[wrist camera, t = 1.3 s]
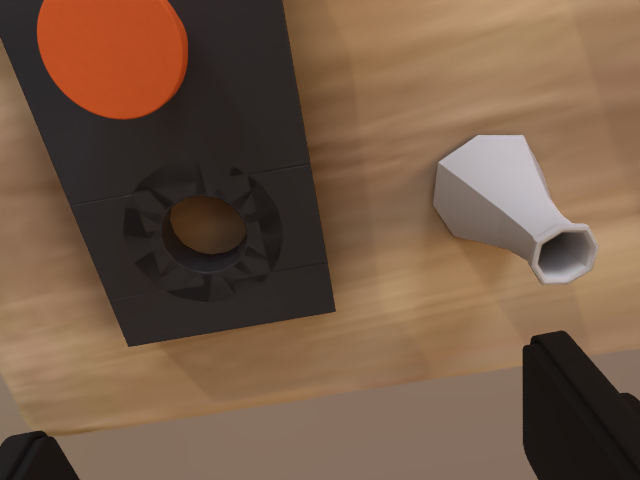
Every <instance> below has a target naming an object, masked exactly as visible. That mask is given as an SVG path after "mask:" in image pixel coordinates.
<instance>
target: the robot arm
mask: <svg viewBox="0 0 640 480" xmlns="http://www.w3.org/2000/svg"><path fill="white" fill-rule="evenodd" d="M523 445H524V450H525V454H526V456H527V459H528V461H529V463H530V465H531V467H532V469H533V471H534V472H535V474H536V476H537V478H538V480H640V401H639V400H638V399H637V398H636V397H634V396H633V395H631V394H629V393H619V392H618V391H617V390H616V389H615V387H614V386H613V385H612V384H611V383H610V382H609V380H608V379H607V378H606V377H605V376H604V375H603V374H602V372H601V371H600V370H599V369H598V368H597V367H596V366H595V364H594V363H593V362H592V361H591V360H590V359H589V357H588V356H587V355H586V354H585V353H584V352H583V351H582V349H581V348H580V347H579V346H578V345H577V344H576V343H575V341H574V340H573V339H572V338H571V337H570V336H569V335H568V334H567V333H566V332H565V331H557V332H551V333H546V334H541V335H536V336H533V337H532V338H531V342H530V345H525V346H524V347H523ZM0 480H80V479H79V478H78V476H77V474H76V473H75V471H74V469H73V468H72V466H71V464H70V463H69V461H68V460H67V458H66V456H65V454H64V453H63V451H62V449H61V448H60V446H59V444H58V443H57V441H56V440H55V439H54V438H53V437H51V436H49V437H48V435H47V434H46V433H45V432H43V431H34V432H29V433H24V434H19V435H13V436H10V437H8V438H7V439H5V441H4V442H3V443H2V444H1V446H0Z"/></svg>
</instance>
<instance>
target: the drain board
mask: <svg viewBox="0 0 640 480" xmlns="http://www.w3.org/2000/svg"><path fill="white" fill-rule="evenodd" d="M43 1H44V0H0V37H1V40H2V42H3V44H4V47H5V49H6V52H7V54H8V56H9V59H10V61H11V64H12V66H13V69H14V71H15V73H16V76H17V78H18V81H19V83H20V85H21V88H22V90H23V93H24V95H25V98H26V100H27V102H28V105H29V107H30V110H31V112H32V114H33V117H34V119H35V122H36V124H37V127H38V129H39V131H40V134H41V136H42V139H43V141H44V143H45V146H46V148H47V151H48V153H49V156H50V158H51V160H52V163H53V165H54V168H55V170H56V172H57V175H58V177H59V180H60V182H61V185H62V187H63V189H64V192H65V194H66V197H67V199H68V201H69V204H70V207H71V209H72V212H73V214H74V216H75V219H76V221H77V224H78V226H79V228H80V231H81V233H82V236H83V238H84V241H85V243H86V245H87V248H88V250H89V253H90V255H91V257H92V260H93V262H94V265H95V267H96V270H97V272H98V274H99V277H100V279H101V282H102V284H103V286H104V289H105V291H106V294H107V296H108V299H109V300H110V303H111V306H112V308H113V311H114V313H115V315H116V318H117V320H118V323H119V325H120V327H121V330H122V332H123V335H124V337H125V340H126V342H127V344H128V347H131V346H137V345H143V344H149V343H155V342H161V341H167V340H172V339H178V338H184V337H190V336H196V335H202V334H208V333H213V332H219V331H225V330H231V329H237V328H243V327H249V326H254V325H260V324H266V323H272V322H278V321H284V320H290V319H295V318H301V317H307V316H313V315H319V314H325V313H331V312H336V309H335V303H334V298H333V292H332V286H331V280H330V274H329V268H328V263H327V257H326V251H325V245H324V240H323V234H322V228H321V222H320V216H319V211H318V205H317V199H316V193H315V187H314V182H313V176H312V170H311V164H310V159H309V153H308V147H307V141H306V135H305V130H304V124H303V118H302V112H301V106H300V101H299V95H298V89H297V83H296V78H295V72H294V66H293V60H292V54H291V49H290V43H289V37H288V31H287V26H286V20H285V14H284V8H283V2H282V0H167V1H168V2H169V3H170V5H171V6H172V7H173V9H174V10H175V12H176V14H177V15H178V17H179V18H180V20H181V22H182V23H183V26H184V28H185V31H186V34H187V39H188V64H187V69H186V73H185V76H184V79H183V81H182V83H181V86H180V87H179V89H178V90H177V92H176V93H175V95H174V96H173V97H172V98H171V99H170V100H169V101H168V102H166V103H165V104H164V105H163V106H161V107H160V108H159V109H157V110H156V111H154V112H152V113H150V114H148V115H146V116H143V117H139V118H135V119H127V120H122V119H111V118H106V117H102V116H99V115H96V114H94V113H91V112H89V111H87V110H85V109H84V108H82V107H80V106H79V105H77V104H76V103H75V102H73V101H72V100H71V99H70V98H68V97H67V96H66V95H65V94H64V93H63V92H62V91H61V90H60V89H59V87H58V86H57V85H56V83H55V82H54V81H53V79H52V78H51V76H50V75H49V73H48V71H47V69H46V67H45V65H44V63H43V60H42V57H41V54H40V51H39V46H38V39H37V23H38V17H39V12H40V9H41V6H42V4H43ZM200 195H203V196H208V197H213V198H218V199H221V200H222V201H224V202H226V203H227V204H229V205H231V206H232V207H234V209H235V210H236V211H237V213H238V214H239V215H240V216H241V218H242V219H243V220H244V224H245V228H246V232H247V235H246V236H245V238H244V239H243V241H242V242H241V243H240V245H239V246H237V247H235V248H234V249H232V250H230V251H229V252H226V253H221V254H215V255H209V254H204V253H198V252H196V251H194V250H193V249H191V248H189V247H187V246H186V245H184V244H183V243H182V242H181V241H180V239H179V238H178V237H177V236H176V235H175V234H174V231H173V228H172V225H171V222H170V214H171V207H172V206H174V205H175V204H177V203H178V202H180V201H181V200H183V199H185V198H188V197H194V196H200Z"/></svg>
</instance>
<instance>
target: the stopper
mask: <svg viewBox="0 0 640 480" xmlns="http://www.w3.org/2000/svg"><path fill="white" fill-rule="evenodd" d="M37 39H38V46H39V51H40V54H41V57H42V60H43V63H44V65H45V67H46V69H47V71H48V73H49V75H50V76H51V78H52V79H53V81H54V82H55V83H56V85H57V86H58V87H59V89H60V90H61V91H62V92H63V93H64V94H65V95H66V96H67V97H68V98H70V99H71V100H72V101H73V102H75V103H76V104H77V105H79V106H80V107H82V108H84V109H85V110H87V111H89V112H91V113H94V114H96V115H99V116H102V117H106V118H111V119H122V120H127V119H135V118H139V117H143V116H146V115H148V114H150V113H152V112H154V111H156V110H157V109H159V108H160V107H161V106H163V105H164V104H165V103H166V102H168V101H169V100H170V99H171V98H172V97H173V96H174V95H175V93H176V92H177V90H178V89H179V87H180V86H181V83H182V81H183V79H184V76H185V73H186V69H187V64H188V39H187V34H186V31H185V28H184V26H183V23H182V22H181V20H180V18H179V17H178V15H177V14H176V12H175V10H174V9H173V7H172V6H171V5H170V3H169V2H168V1H167V0H44V1H43V4H42V6H41V9H40V12H39V17H38V23H37Z"/></svg>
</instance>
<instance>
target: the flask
mask: <svg viewBox="0 0 640 480" xmlns="http://www.w3.org/2000/svg"><path fill="white" fill-rule="evenodd" d="M433 206H434V207H435V209H436V210H437V212H438V213H439V215H440V216H441V218H442V219H443V221H444V222H445V224H446V225H447V227H448V228H449V230H450V231H451V233H452V234H453V236H455V237H458V238H462V239H467V240H472V241H477V242H482V243H485V244H489V245H493V246H496V247H500V248H504V249H507V250H510V251H511V252H513V253H515V254H517V255H519V256H520V257H522V258H524V259H526V260H527V261H528V263H529V265H530V267H531V269H532V270H533V272H534V274H535V275H536V277H537V279H538V280H539V282H540V283H541V284H542V285H561V284H569V283H571V282H573V281H574V280H576V279H578V278H579V277H581V276H583V275H585V274H586V273H588V272H590V271H591V270H592V268H593V265H594V261H595V258H596V254H597V251H598V248H599V246H598V244H597V242H596V240H595V238H594V236H593V234H592V232H591V230H590V228H589V227H588V226H587V225H586V224H573V223H571V222H570V221H569V220H567V219H566V218H565V217H564V216H562V215H561V213H560V212H559V211H558V209H557V208H556V207H555V205H554V204H553V202H552V199H551V197H550V194H549V191H548V187H547V184H546V181H545V177H544V175H543V172H542V170H541V168H540V166H539V164H538V162H537V160H536V159H535V157H534V155H533V153H532V151H531V149H530V147H529V145H528V143H527V142H526V140H525V138H524V136H523V135H477V136H476V137H474V138H473V139H472V140H470V141H469V142H467V143H466V144H464V145H463V146H461V147H460V148H458V149H457V150H455V151H454V152H452V153H451V154H449V155H448V156H447V157H445V158H444V159H442V160H441V161H439V162H438V168H437V175H436V183H435V191H434V199H433Z"/></svg>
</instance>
